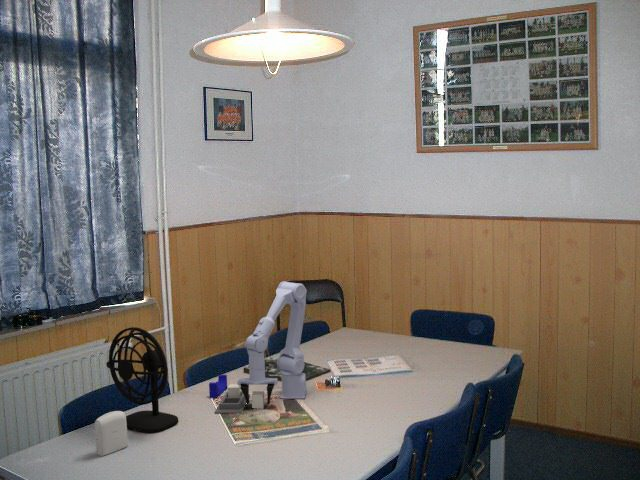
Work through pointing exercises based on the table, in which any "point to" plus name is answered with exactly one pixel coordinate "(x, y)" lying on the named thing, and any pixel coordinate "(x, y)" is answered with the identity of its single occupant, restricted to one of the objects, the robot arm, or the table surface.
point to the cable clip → (218, 386)
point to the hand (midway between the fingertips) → (258, 403)
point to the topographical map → (274, 372)
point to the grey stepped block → (232, 401)
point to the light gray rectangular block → (258, 399)
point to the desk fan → (151, 363)
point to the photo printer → (111, 432)
